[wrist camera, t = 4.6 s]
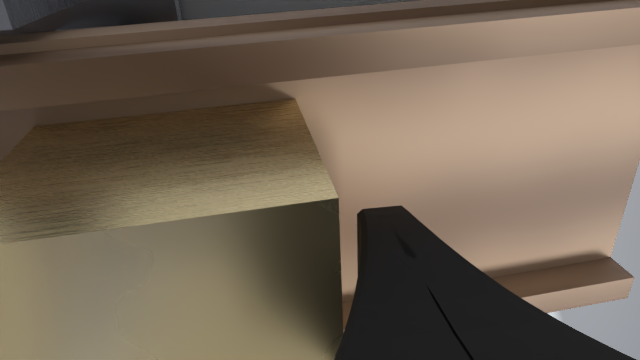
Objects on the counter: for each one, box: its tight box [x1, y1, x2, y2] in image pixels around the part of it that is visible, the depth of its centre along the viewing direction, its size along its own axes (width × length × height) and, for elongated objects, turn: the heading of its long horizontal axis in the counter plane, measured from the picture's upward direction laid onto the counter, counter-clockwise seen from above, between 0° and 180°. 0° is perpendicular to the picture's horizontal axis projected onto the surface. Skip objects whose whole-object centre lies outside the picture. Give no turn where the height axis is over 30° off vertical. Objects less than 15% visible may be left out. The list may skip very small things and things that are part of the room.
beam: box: [0, 0, 640, 333], centre depth 11 cm, size 9×28×3 cm, turn 93°
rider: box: [0, 99, 343, 360], centre depth 10 cm, size 6×6×4 cm
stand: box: [0, 0, 182, 36], centre depth 13 cm, size 14×5×6 cm, turn 3°
